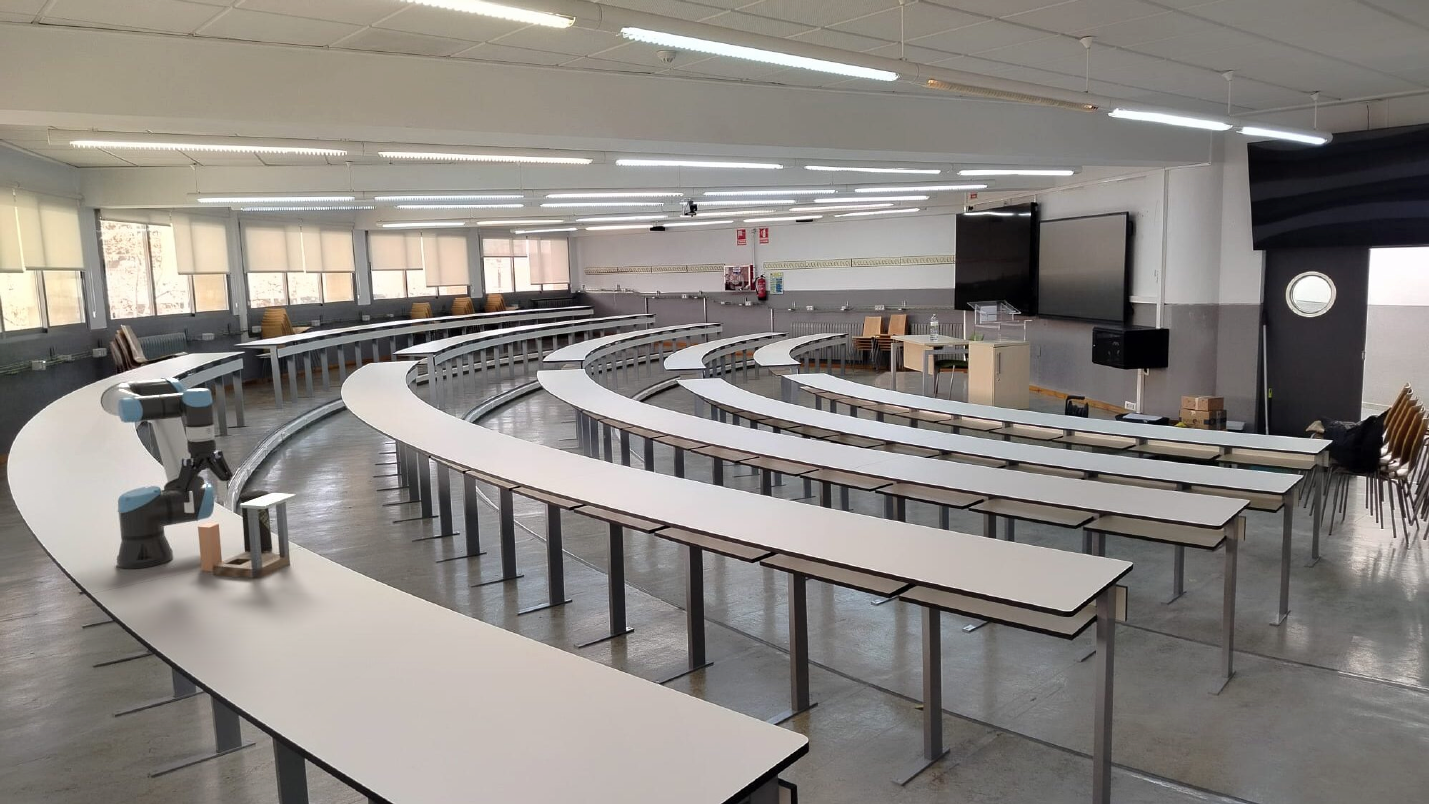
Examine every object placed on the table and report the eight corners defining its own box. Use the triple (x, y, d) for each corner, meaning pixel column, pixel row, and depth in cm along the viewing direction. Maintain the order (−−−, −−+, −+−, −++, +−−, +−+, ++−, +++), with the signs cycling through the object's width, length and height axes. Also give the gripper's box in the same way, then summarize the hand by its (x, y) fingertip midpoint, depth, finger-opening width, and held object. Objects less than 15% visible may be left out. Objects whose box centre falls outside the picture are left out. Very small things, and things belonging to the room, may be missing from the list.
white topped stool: (245, 577, 269) (239, 504, 265) (277, 563, 282) (272, 492, 279) (269, 580, 267) (264, 506, 264) (301, 565, 280) (296, 494, 277)
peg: (201, 570, 276) (197, 526, 274) (211, 566, 280) (207, 523, 278) (212, 571, 275) (208, 527, 273) (222, 566, 279) (218, 523, 277)
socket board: (213, 575, 271) (212, 565, 271) (246, 560, 285) (246, 551, 284) (258, 579, 268) (257, 569, 267) (290, 564, 281) (289, 555, 281)
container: (261, 555, 290) (256, 495, 287) (237, 553, 292) (232, 494, 289) (279, 547, 299) (274, 489, 296) (255, 545, 300) (251, 487, 297)
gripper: (178, 447, 258) (185, 518, 261) (241, 432, 282) (246, 497, 285) (157, 446, 260) (163, 516, 263) (221, 431, 284) (226, 496, 287)
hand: (207, 506), depth 274 cm, fingers open, 13 cm apart
